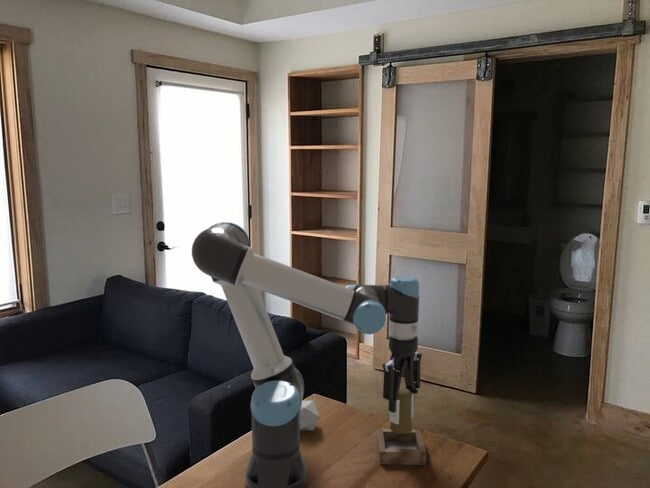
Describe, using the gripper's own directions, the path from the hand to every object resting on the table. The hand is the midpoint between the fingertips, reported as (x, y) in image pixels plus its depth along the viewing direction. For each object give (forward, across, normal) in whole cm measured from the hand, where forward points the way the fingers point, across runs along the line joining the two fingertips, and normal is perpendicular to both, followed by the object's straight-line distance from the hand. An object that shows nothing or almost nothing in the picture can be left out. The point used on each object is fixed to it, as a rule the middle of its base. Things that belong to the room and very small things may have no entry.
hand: (401, 418), depth 145 cm
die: (+10, -11, +28) cm, 31 cm away
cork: (+3, 0, 0) cm, 3 cm away
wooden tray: (+10, 0, 0) cm, 10 cm away
